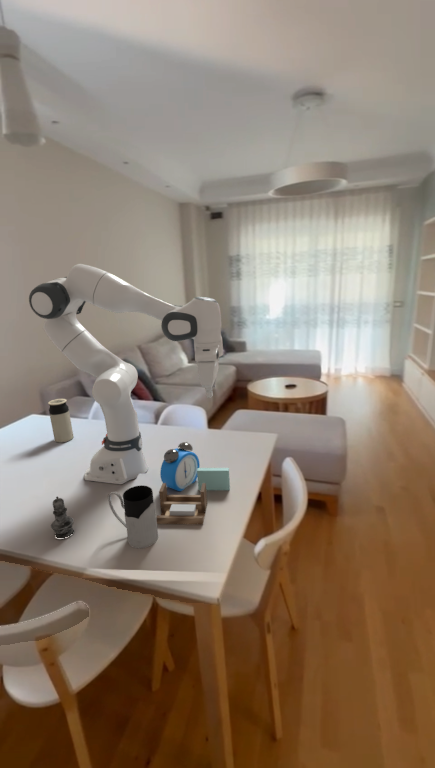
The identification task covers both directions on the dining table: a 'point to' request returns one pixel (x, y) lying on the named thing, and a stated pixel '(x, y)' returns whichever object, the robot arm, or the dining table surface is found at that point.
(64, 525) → the dark grey figurine
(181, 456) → the alarm clock
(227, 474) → the panel
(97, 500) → the dining table surface
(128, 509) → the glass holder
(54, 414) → the travel mug
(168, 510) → the oak offcut
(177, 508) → the grey offcut
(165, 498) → the rack
